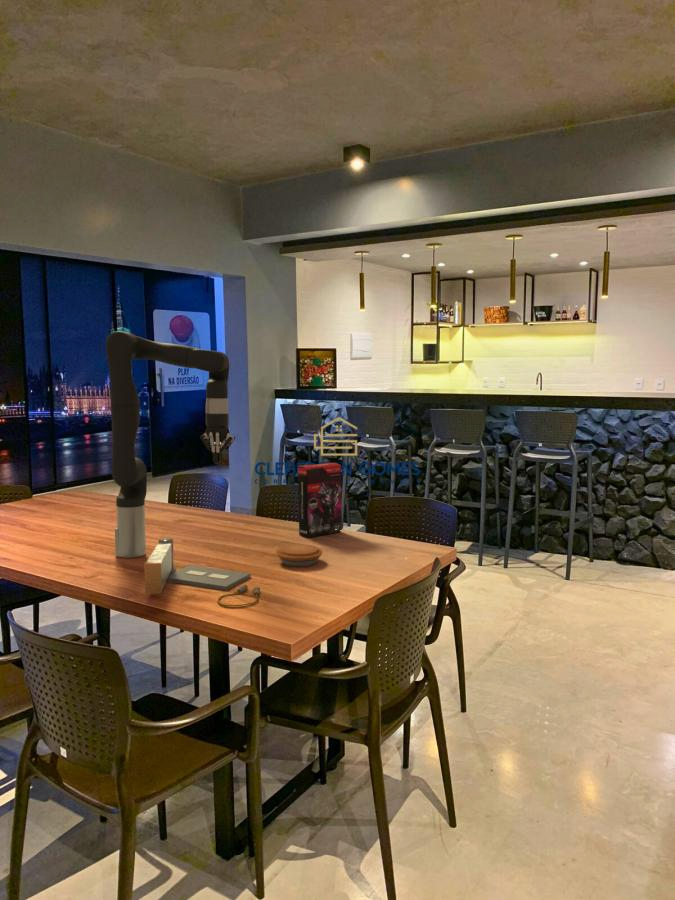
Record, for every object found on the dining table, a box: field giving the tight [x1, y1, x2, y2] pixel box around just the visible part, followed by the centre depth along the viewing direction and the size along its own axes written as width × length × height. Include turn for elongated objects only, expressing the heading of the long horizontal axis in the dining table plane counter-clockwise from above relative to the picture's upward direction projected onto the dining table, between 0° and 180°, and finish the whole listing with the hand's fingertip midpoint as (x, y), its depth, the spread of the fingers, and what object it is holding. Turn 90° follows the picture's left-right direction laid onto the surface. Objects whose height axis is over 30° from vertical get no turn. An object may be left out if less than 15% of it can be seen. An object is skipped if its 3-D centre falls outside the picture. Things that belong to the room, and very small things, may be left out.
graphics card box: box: [297, 462, 343, 538], centre depth 265 cm, size 17×7×27 cm, turn 128°
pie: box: [275, 543, 323, 568], centre depth 227 cm, size 15×16×5 cm
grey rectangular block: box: [143, 537, 175, 594], centre depth 201 cm, size 27×4×9 cm, turn 6°
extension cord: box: [217, 584, 261, 609], centre depth 190 cm, size 12×16×2 cm
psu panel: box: [166, 564, 252, 591], centre depth 208 cm, size 29×14×1 cm, turn 67°
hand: (217, 463), depth 229 cm, fingers closed
